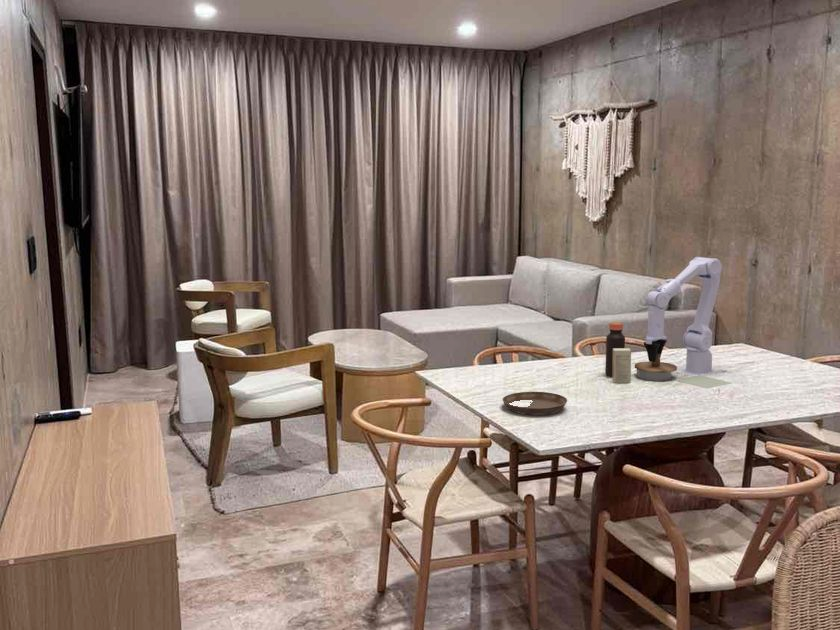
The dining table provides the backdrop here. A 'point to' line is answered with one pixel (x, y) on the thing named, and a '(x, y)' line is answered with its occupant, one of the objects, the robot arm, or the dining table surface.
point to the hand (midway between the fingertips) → (654, 360)
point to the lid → (656, 366)
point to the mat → (703, 381)
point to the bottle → (613, 344)
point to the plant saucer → (536, 402)
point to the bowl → (653, 375)
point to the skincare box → (621, 365)
